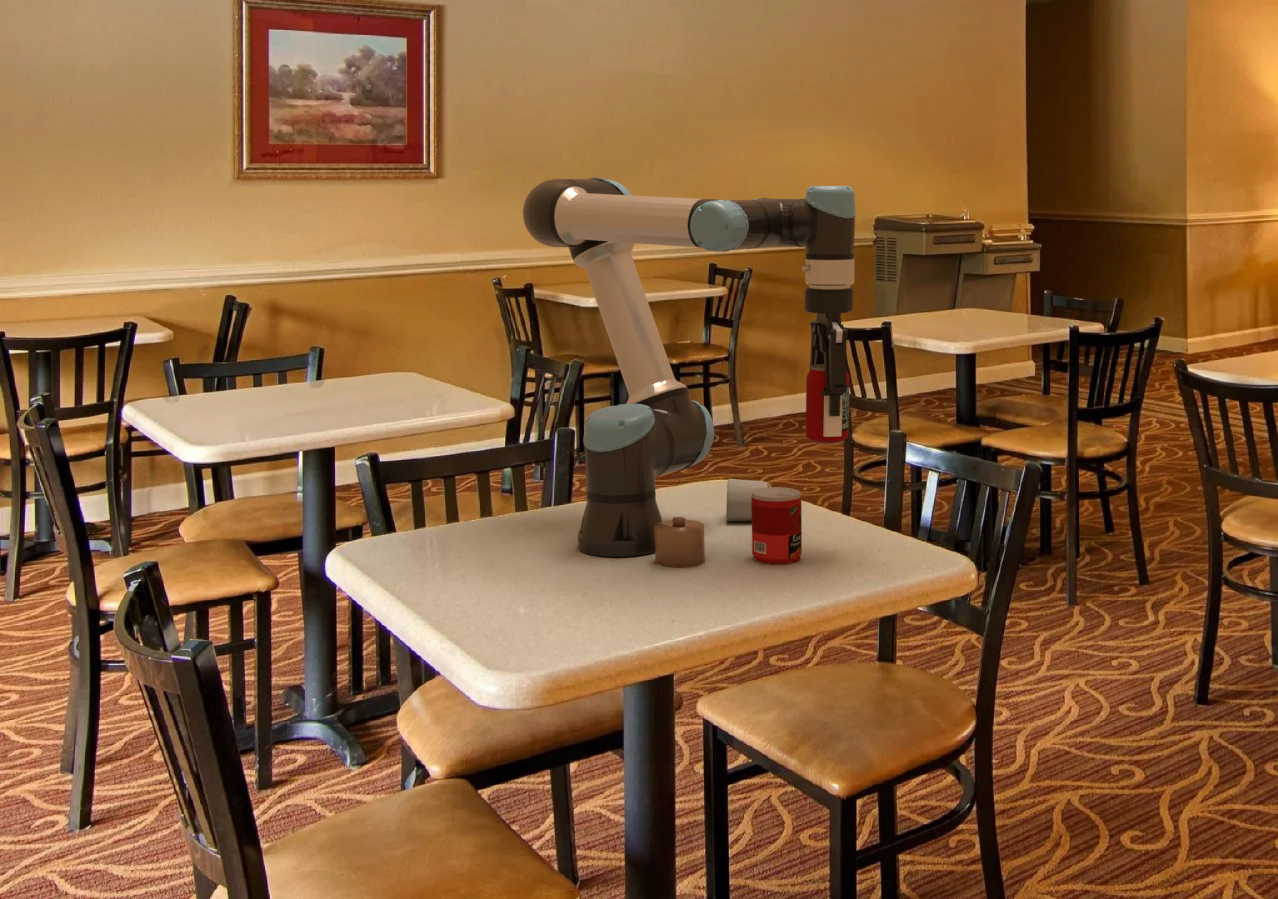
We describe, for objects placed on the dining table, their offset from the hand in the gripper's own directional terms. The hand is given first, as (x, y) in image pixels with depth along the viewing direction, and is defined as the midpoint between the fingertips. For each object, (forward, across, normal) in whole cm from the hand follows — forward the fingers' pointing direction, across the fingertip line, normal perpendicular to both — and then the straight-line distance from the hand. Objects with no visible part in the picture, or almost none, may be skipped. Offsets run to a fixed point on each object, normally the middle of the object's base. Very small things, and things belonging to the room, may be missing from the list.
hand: (826, 431), depth 209 cm
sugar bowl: (+21, -1, -24) cm, 31 cm away
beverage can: (+2, 0, 0) cm, 2 cm away
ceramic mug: (+21, -27, -8) cm, 35 cm away
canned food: (+21, +1, -8) cm, 22 cm away
